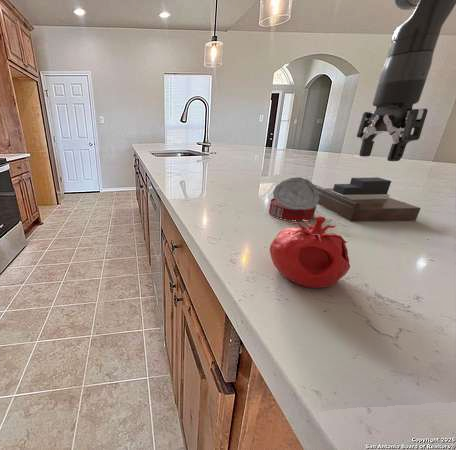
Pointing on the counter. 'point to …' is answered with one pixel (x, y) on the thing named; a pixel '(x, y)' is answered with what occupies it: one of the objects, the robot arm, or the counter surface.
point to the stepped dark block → (364, 188)
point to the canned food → (294, 200)
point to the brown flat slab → (367, 207)
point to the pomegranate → (310, 255)
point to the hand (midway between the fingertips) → (377, 158)
